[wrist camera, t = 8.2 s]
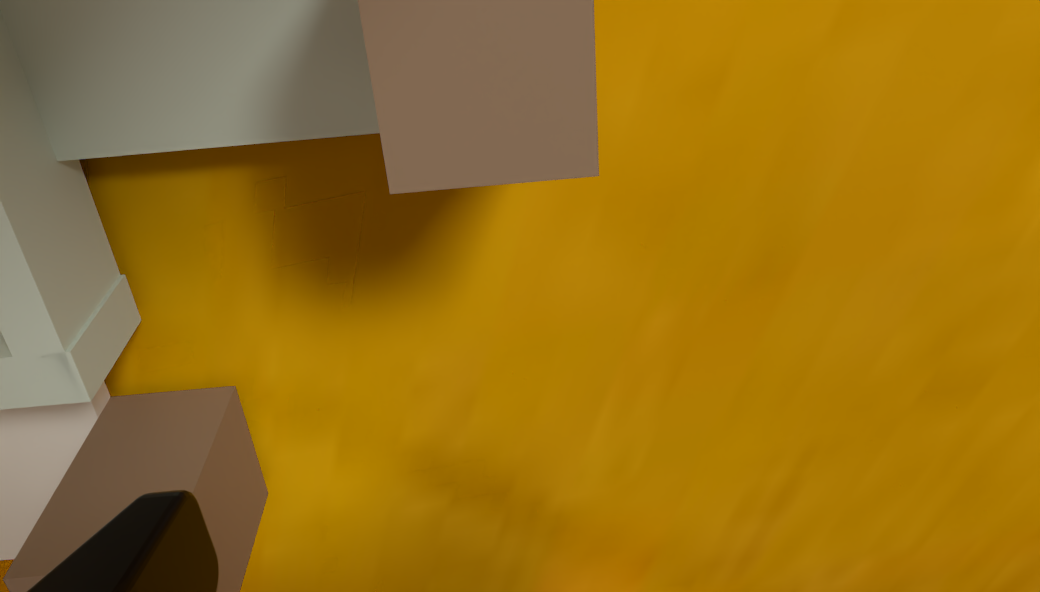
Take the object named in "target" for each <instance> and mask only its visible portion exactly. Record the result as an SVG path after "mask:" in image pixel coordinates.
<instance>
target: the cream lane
mask: <svg viewBox="0 0 1040 592" xmlns="http://www.w3.org/2000/svg"><path fill="white" fill-rule="evenodd" d="M174 490H186V491H189V492H191V493H192V494H193V495H194V496H195V498H196V499H197V501H198V503H199V506H200V509H201V512H202V515H203V517H204V520H205V523H206V526H207V529H208V531H209V534H210V537H211V540H212V542H213V545H214V548H215V551H216V554H217V558H218V566H219V578H218V586H217V592H240V589H241V585H242V582H243V579H244V575H245V572H246V568H247V565H248V561H249V558H250V554H251V551H252V547H253V544H254V541H255V537H256V534H257V530H258V527H259V523H260V520H261V516H262V513H263V510H264V506H265V503H266V499H267V496H268V491H267V488H266V484H265V481H264V478H263V475H262V471H261V468H260V465H259V462H258V458H257V455H256V452H255V449H254V445H253V442H252V439H251V436H250V432H249V429H248V426H247V422H246V419H245V416H244V413H243V409H242V406H241V403H240V400H239V396H238V393H237V390H236V387H235V386H228V387H217V388H206V389H194V390H183V391H171V392H160V393H149V394H137V395H126V396H114V397H111V396H110V394H109V391H108V389H107V387H106V384H105V382H103V383H102V385H101V386H100V388H99V390H98V391H97V393H96V394H95V396H94V398H93V399H92V401H91V402H82V403H70V404H59V405H47V406H36V407H25V408H13V409H2V410H0V560H9V559H15V560H14V561H13V563H12V565H11V566H10V568H9V570H8V571H7V573H6V575H5V576H4V578H3V580H4V582H5V584H6V586H7V588H8V589H9V591H10V592H27V591H28V590H29V589H30V588H31V587H32V586H34V585H35V584H36V583H37V582H38V581H40V580H41V579H42V578H43V577H44V576H45V575H47V574H48V573H49V572H50V571H51V570H53V569H54V568H55V567H56V566H57V565H58V564H60V563H61V562H62V561H63V560H64V559H65V558H67V557H68V556H69V555H70V554H71V553H73V552H74V551H75V550H76V549H77V548H78V547H80V546H81V545H82V544H83V543H84V542H86V541H87V540H88V539H89V538H90V537H91V536H93V535H94V534H95V533H96V532H97V531H99V530H100V529H101V528H102V527H103V526H104V525H106V524H107V523H108V522H109V521H110V520H112V519H113V518H114V517H115V516H116V515H117V514H119V513H120V512H121V511H122V510H123V509H125V508H126V507H127V506H128V505H129V504H130V503H132V502H133V501H134V500H135V499H137V498H138V497H140V496H141V495H143V494H147V493H151V492H163V491H174Z"/></svg>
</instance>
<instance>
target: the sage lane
mask: <svg viewBox="0 0 1040 592" xmlns="http://www.w3.org/2000/svg"><path fill="white" fill-rule="evenodd" d="M375 133H380V138H381V144H382V150H383V156H384V162H385V168H386V174H387V179H388V185H389V191H390V194H398V193H410V192H421V191H432V190H444V189H455V188H467V187H478V186H490V185H501V184H512V183H524V182H535V181H547V180H558V179H569V178H581V177H592V176H599V166H598V132H597V99H596V65H595V31H594V0H0V410H2V409H13V408H25V407H36V406H47V405H59V404H70V403H82V402H91V401H92V399H93V398H94V396H95V394H96V393H97V391H98V390H99V388H100V386H101V385H102V383H103V382H104V380H105V378H106V377H107V375H108V373H109V372H110V370H111V369H112V367H113V365H114V364H115V362H116V361H117V359H118V357H119V356H120V354H121V352H122V351H123V349H124V348H125V346H126V344H127V343H128V341H129V339H130V338H131V336H132V335H133V333H134V331H135V330H136V328H137V327H138V325H139V323H140V322H141V317H140V315H139V312H138V309H137V306H136V304H135V301H134V298H133V295H132V292H131V290H130V287H129V284H128V281H127V278H126V276H125V274H124V275H120V272H119V269H118V266H117V264H116V261H115V258H114V255H113V253H112V250H111V247H110V244H109V242H108V239H107V236H106V233H105V231H104V228H103V225H102V222H101V220H100V217H99V214H98V211H97V209H96V206H95V203H94V200H93V198H92V195H91V192H90V189H89V186H88V184H87V181H86V178H85V175H84V173H83V170H82V167H81V164H80V162H79V159H90V158H101V157H113V156H124V155H136V154H147V153H158V152H170V151H181V150H193V149H204V148H216V147H227V146H238V145H250V144H261V143H273V142H284V141H295V140H307V139H318V138H330V137H341V136H353V135H364V134H375Z"/></svg>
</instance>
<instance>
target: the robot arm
mask: <svg viewBox="0 0 1040 592" xmlns="http://www.w3.org/2000/svg"><path fill="white" fill-rule="evenodd" d="M218 578H219V566H218V558H217V554H216V551H215V548H214V545H213V542H212V540H211V537H210V534H209V531H208V529H207V526H206V523H205V520H204V517H203V515H202V512H201V509H200V506H199V503H198V501H197V499H196V498H195V496H194V495H193V494H192V493H191V492H189V491H186V490H174V491H163V492H151V493H147V494H143V495H141V496H140V497H138V498H137V499H135V500H134V501H133V502H132V503H130V504H129V505H128V506H127V507H126V508H125V509H123V510H122V511H121V512H120V513H119V514H117V515H116V516H115V517H114V518H113V519H112V520H110V521H109V522H108V523H107V524H106V525H104V526H103V527H102V528H101V529H100V530H99V531H97V532H96V533H95V534H94V535H93V536H91V537H90V538H89V539H88V540H87V541H86V542H84V543H83V544H82V545H81V546H80V547H78V548H77V549H76V550H75V551H74V552H73V553H71V554H70V555H69V556H68V557H67V558H65V559H64V560H63V561H62V562H61V563H60V564H58V565H57V566H56V567H55V568H54V569H53V570H51V571H50V572H49V573H48V574H47V575H45V576H44V577H43V578H42V579H41V580H40V581H38V582H37V583H36V584H35V585H34V586H32V587H31V588H30V589H29V590H28V591H27V592H217V586H218Z"/></svg>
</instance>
